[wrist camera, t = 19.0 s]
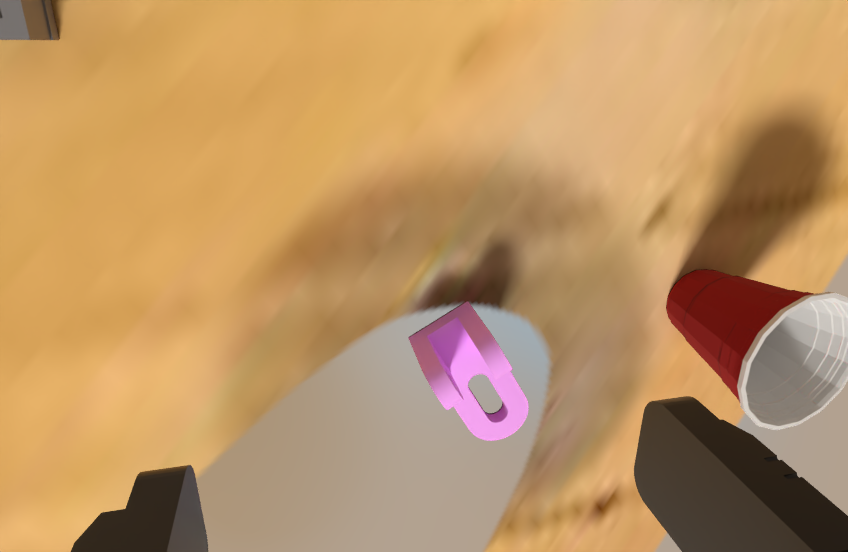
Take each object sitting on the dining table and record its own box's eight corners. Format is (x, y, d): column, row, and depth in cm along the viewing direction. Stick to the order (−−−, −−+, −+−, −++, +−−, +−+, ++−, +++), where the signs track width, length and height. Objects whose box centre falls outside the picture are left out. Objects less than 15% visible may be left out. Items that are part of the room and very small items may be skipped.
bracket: (408, 337, 46) (427, 384, 40) (467, 300, 46) (496, 341, 39) (479, 441, 51) (506, 496, 45) (532, 408, 51) (566, 459, 45)
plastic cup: (748, 333, 54) (866, 406, 43) (643, 366, 52) (738, 450, 41) (753, 225, 49) (886, 277, 38) (639, 258, 48) (743, 322, 37)
